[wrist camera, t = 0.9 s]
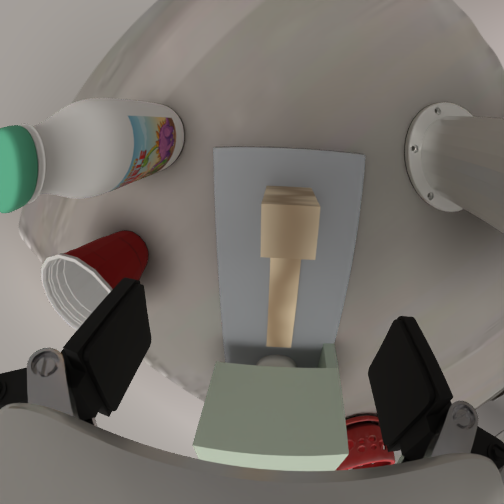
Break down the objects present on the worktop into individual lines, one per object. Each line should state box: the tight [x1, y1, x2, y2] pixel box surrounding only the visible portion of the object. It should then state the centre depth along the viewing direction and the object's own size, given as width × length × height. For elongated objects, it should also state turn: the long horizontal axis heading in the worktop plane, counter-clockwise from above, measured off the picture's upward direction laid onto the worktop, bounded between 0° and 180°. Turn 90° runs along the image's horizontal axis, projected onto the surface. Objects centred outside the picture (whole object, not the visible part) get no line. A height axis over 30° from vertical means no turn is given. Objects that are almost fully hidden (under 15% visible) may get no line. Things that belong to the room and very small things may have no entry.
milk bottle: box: [0, 98, 184, 213], centre depth 17 cm, size 8×8×20 cm
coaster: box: [256, 355, 297, 368], centre depth 36 cm, size 6×6×2 cm
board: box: [213, 147, 366, 368], centre depth 33 cm, size 15×36×1 cm, turn 0°
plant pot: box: [335, 415, 395, 471], centre depth 40 cm, size 13×13×12 cm
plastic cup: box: [41, 231, 148, 331], centre depth 27 cm, size 11×11×12 cm
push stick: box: [260, 186, 320, 348], centre depth 27 cm, size 4×20×7 cm, turn 0°
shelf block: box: [193, 343, 349, 471], centre depth 30 cm, size 15×10×18 cm, turn 90°
